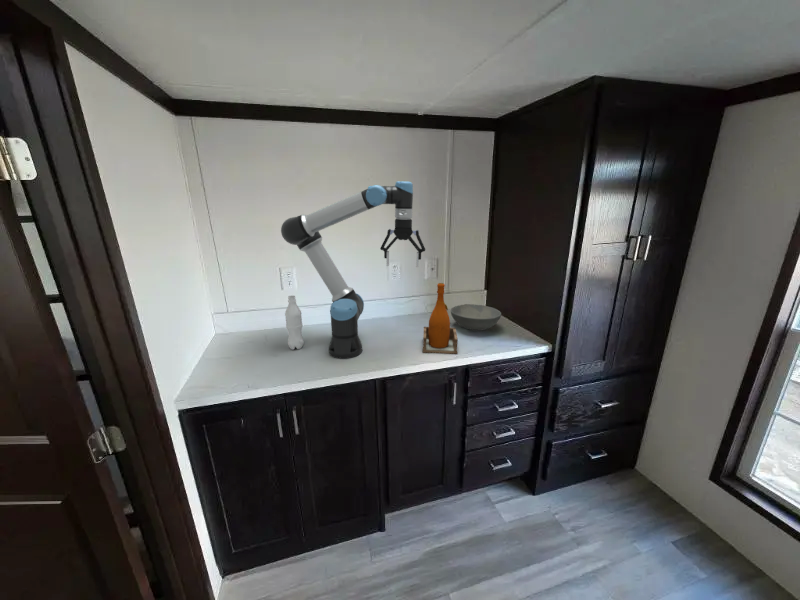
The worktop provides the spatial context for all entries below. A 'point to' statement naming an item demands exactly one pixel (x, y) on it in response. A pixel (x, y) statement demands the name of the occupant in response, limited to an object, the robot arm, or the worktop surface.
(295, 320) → the water bottle
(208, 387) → the worktop surface
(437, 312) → the wine bottle
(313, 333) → the worktop surface
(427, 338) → the walnut U-rest
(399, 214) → the robot arm
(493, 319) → the bowl
